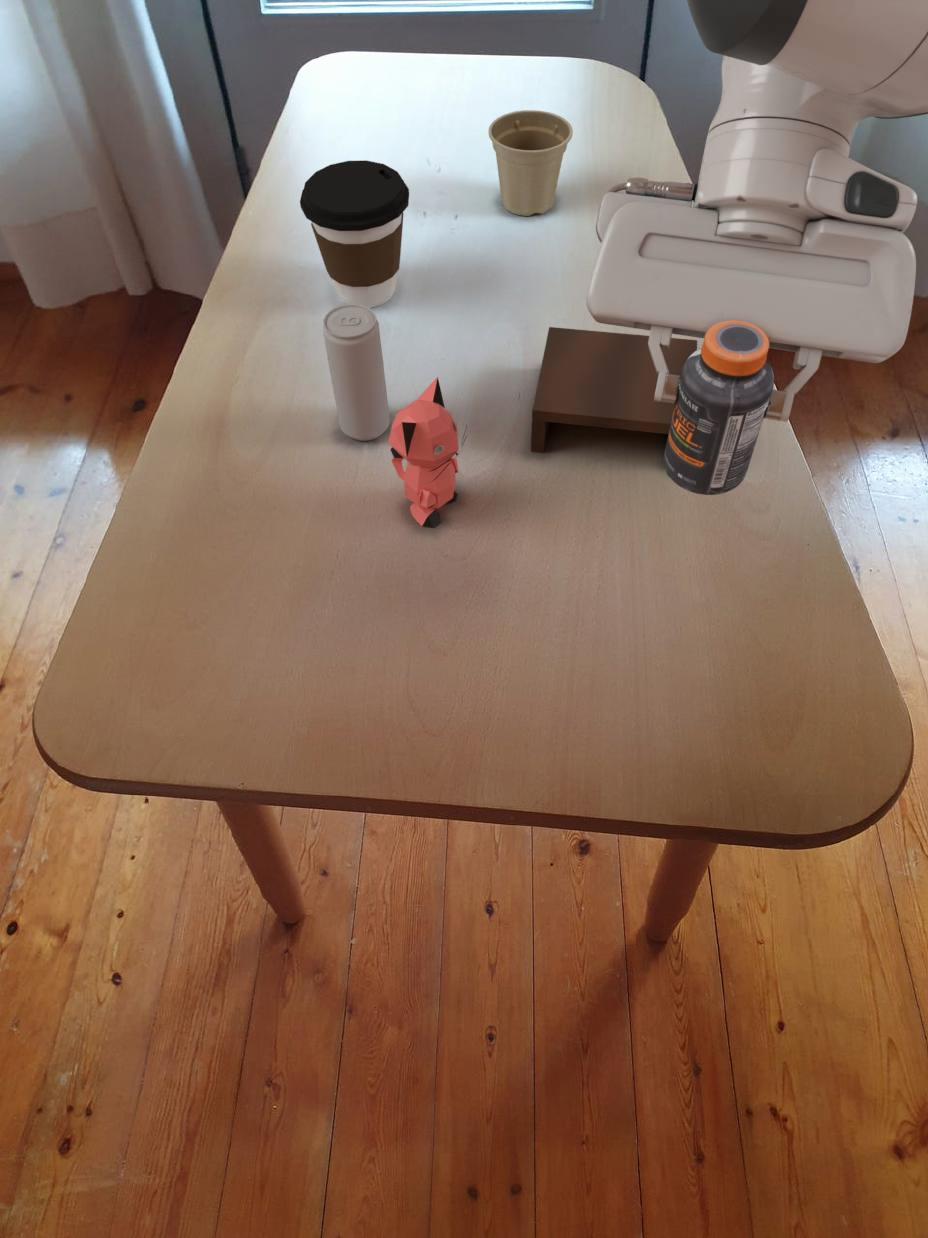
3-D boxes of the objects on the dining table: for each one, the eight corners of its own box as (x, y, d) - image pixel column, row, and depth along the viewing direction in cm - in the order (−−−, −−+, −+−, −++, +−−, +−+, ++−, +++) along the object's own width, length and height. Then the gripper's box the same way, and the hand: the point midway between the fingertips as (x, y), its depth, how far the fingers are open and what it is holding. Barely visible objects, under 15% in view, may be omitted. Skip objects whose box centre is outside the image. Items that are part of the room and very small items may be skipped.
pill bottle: (647, 451, 69) (672, 320, 60) (719, 430, 70) (754, 299, 61) (687, 507, 66) (719, 378, 56) (762, 484, 67) (805, 354, 58)
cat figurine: (444, 544, 81) (438, 439, 71) (375, 518, 83) (359, 413, 73) (481, 490, 85) (479, 384, 75) (413, 467, 86) (403, 360, 77)
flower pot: (569, 183, 115) (574, 110, 108) (566, 226, 109) (571, 152, 102) (492, 180, 116) (492, 108, 109) (485, 223, 110) (484, 149, 103)
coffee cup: (385, 251, 107) (374, 146, 97) (435, 299, 102) (429, 192, 92) (299, 284, 104) (279, 178, 94) (346, 335, 98) (330, 228, 89)
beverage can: (388, 444, 88) (375, 337, 79) (337, 444, 89) (318, 337, 79) (392, 409, 91) (380, 302, 82) (342, 409, 91) (324, 302, 82)
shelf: (688, 382, 93) (697, 339, 89) (683, 467, 86) (693, 426, 82) (546, 368, 94) (549, 326, 90) (530, 451, 87) (532, 409, 83)
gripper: (602, 157, 59) (561, 381, 61) (946, 197, 56) (889, 433, 58) (608, 188, 65) (570, 391, 67) (918, 226, 62) (866, 438, 64)
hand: (720, 411), depth 63 cm, fingers closed on pill bottle, 6 cm apart
